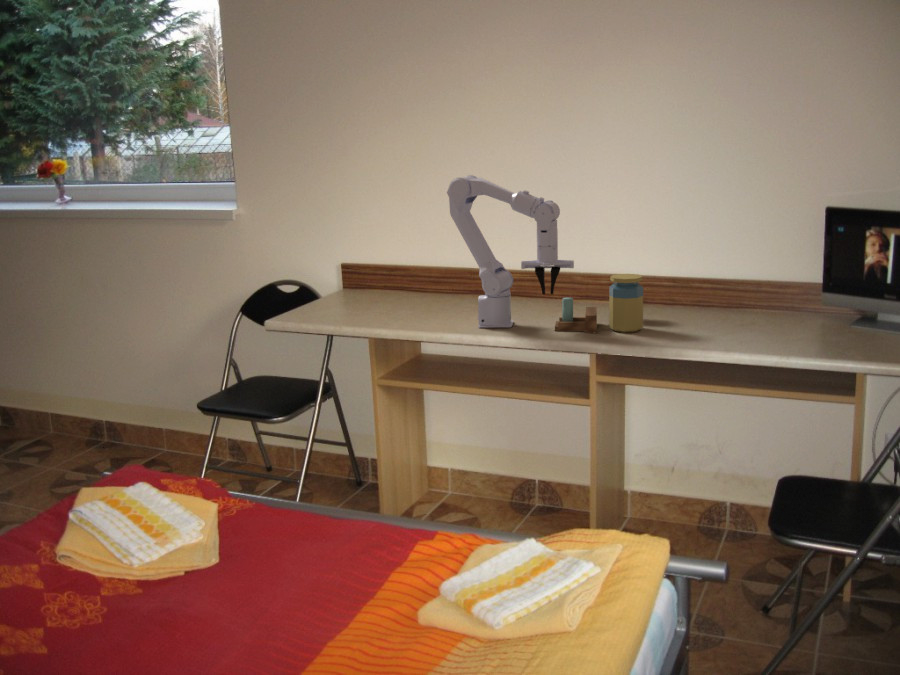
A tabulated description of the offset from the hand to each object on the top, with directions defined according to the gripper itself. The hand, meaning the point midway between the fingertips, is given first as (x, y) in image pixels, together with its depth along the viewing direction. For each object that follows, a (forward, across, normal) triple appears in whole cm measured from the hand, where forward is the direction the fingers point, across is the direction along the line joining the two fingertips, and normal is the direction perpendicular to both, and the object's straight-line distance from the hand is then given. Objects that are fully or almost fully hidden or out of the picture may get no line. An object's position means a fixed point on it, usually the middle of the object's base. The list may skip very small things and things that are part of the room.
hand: (547, 293), depth 262 cm
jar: (+10, +22, -2) cm, 24 cm away
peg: (+10, +6, 0) cm, 11 cm away
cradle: (+10, +8, 0) cm, 13 cm away
